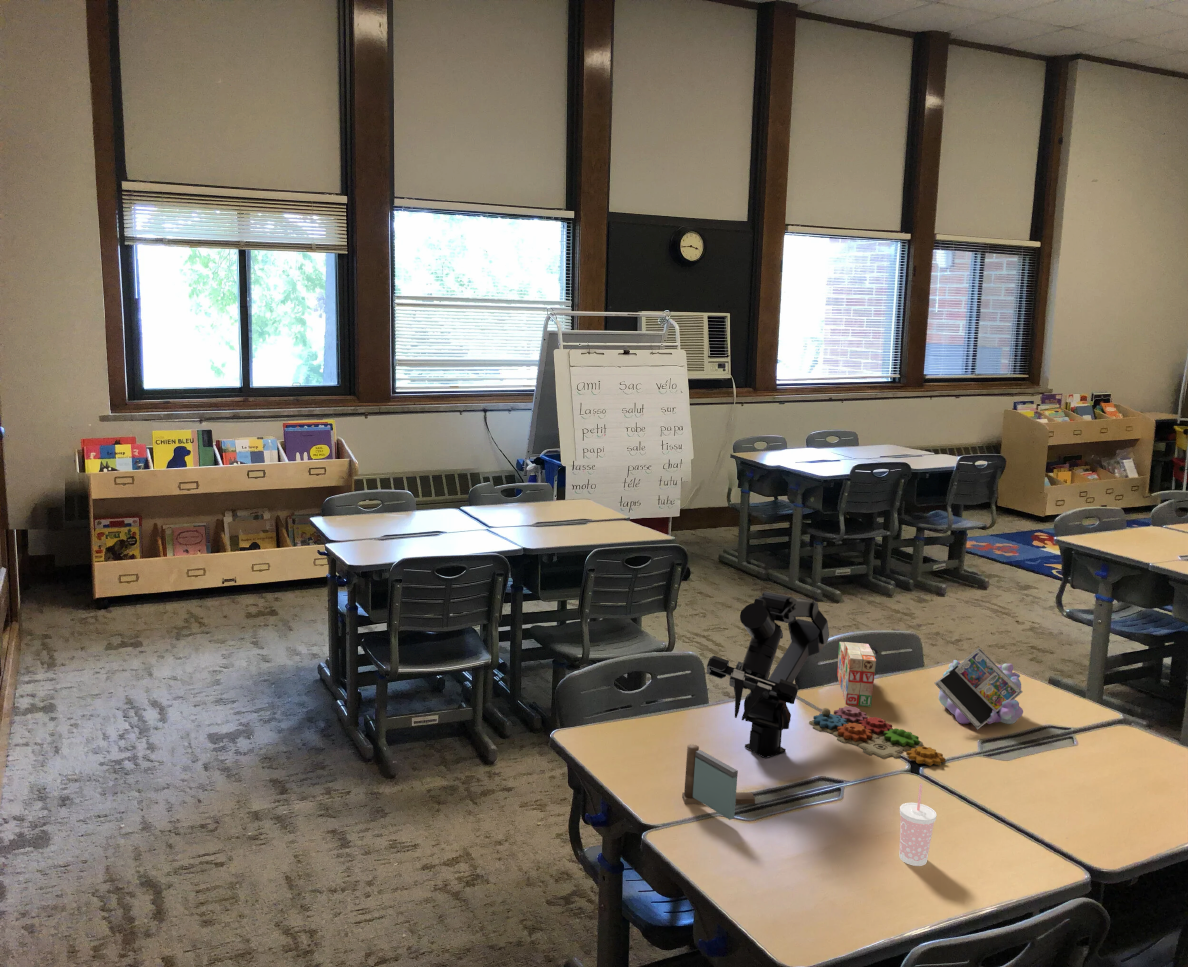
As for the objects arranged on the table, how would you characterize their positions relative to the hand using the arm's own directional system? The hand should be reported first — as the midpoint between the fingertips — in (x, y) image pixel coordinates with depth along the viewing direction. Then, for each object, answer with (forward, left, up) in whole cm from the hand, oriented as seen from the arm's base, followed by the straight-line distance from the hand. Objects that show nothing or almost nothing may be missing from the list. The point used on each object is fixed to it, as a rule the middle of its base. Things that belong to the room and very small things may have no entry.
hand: (738, 718), depth 196 cm
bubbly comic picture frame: (-74, +7, -13) cm, 75 cm away
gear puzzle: (-41, +4, -13) cm, 43 cm away
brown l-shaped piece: (+10, +6, -13) cm, 17 cm away
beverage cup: (-6, +39, -13) cm, 41 cm away
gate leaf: (+15, +9, -11) cm, 21 cm away
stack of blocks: (-61, -20, -13) cm, 66 cm away
